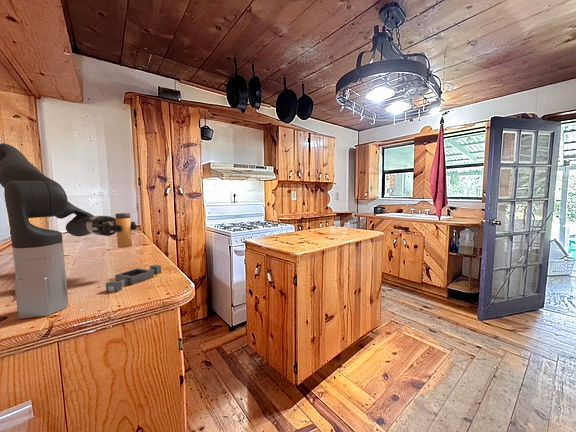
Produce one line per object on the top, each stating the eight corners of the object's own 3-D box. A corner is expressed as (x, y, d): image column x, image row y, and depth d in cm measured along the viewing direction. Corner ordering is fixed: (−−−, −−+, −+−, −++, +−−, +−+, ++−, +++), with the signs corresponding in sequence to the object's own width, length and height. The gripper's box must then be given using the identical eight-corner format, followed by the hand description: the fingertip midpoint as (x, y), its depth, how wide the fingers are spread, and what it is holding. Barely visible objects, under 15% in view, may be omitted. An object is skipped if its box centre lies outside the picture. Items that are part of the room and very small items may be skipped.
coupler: (130, 247, 91) (127, 213, 90) (116, 248, 90) (113, 214, 89) (133, 244, 96) (131, 212, 95) (120, 245, 94) (117, 213, 93)
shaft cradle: (113, 293, 77) (112, 284, 77) (93, 289, 81) (93, 281, 81) (168, 273, 96) (168, 266, 96) (150, 270, 100) (150, 264, 99)
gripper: (79, 217, 93) (105, 219, 84) (121, 214, 105) (147, 215, 97) (81, 238, 93) (107, 241, 85) (122, 232, 106) (148, 235, 98)
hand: (128, 227), depth 91 cm, fingers closed on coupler, 4 cm apart
